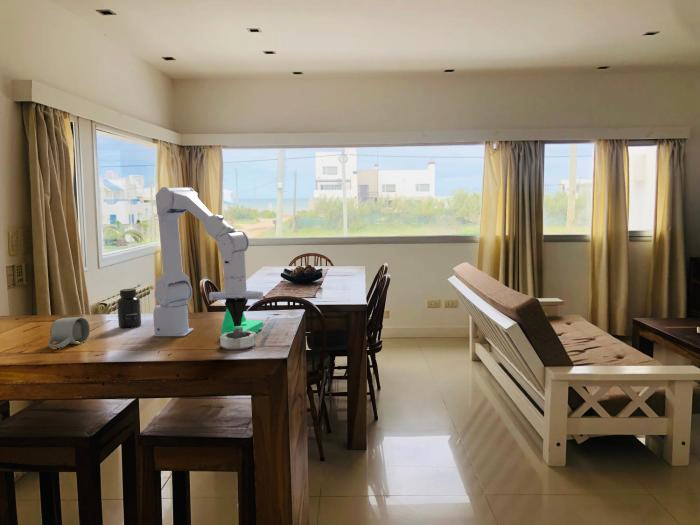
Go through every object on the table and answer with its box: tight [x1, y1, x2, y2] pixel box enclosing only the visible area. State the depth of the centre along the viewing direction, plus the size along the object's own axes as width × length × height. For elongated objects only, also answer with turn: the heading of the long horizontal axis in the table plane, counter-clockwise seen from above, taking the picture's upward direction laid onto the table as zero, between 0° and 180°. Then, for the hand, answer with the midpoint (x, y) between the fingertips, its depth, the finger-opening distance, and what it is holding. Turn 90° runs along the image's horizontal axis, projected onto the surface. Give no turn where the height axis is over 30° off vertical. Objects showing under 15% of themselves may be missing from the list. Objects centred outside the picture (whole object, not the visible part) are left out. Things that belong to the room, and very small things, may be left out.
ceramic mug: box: [47, 316, 91, 349], centre depth 156 cm, size 11×8×8 cm
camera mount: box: [221, 308, 264, 335], centre depth 163 cm, size 12×8×10 cm, turn 162°
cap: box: [233, 327, 243, 338], centre depth 150 cm, size 5×5×4 cm
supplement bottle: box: [116, 288, 142, 330], centre depth 175 cm, size 7×7×12 cm
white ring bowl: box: [219, 331, 257, 351], centre depth 150 cm, size 9×9×3 cm
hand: (237, 325), depth 150 cm, fingers closed
